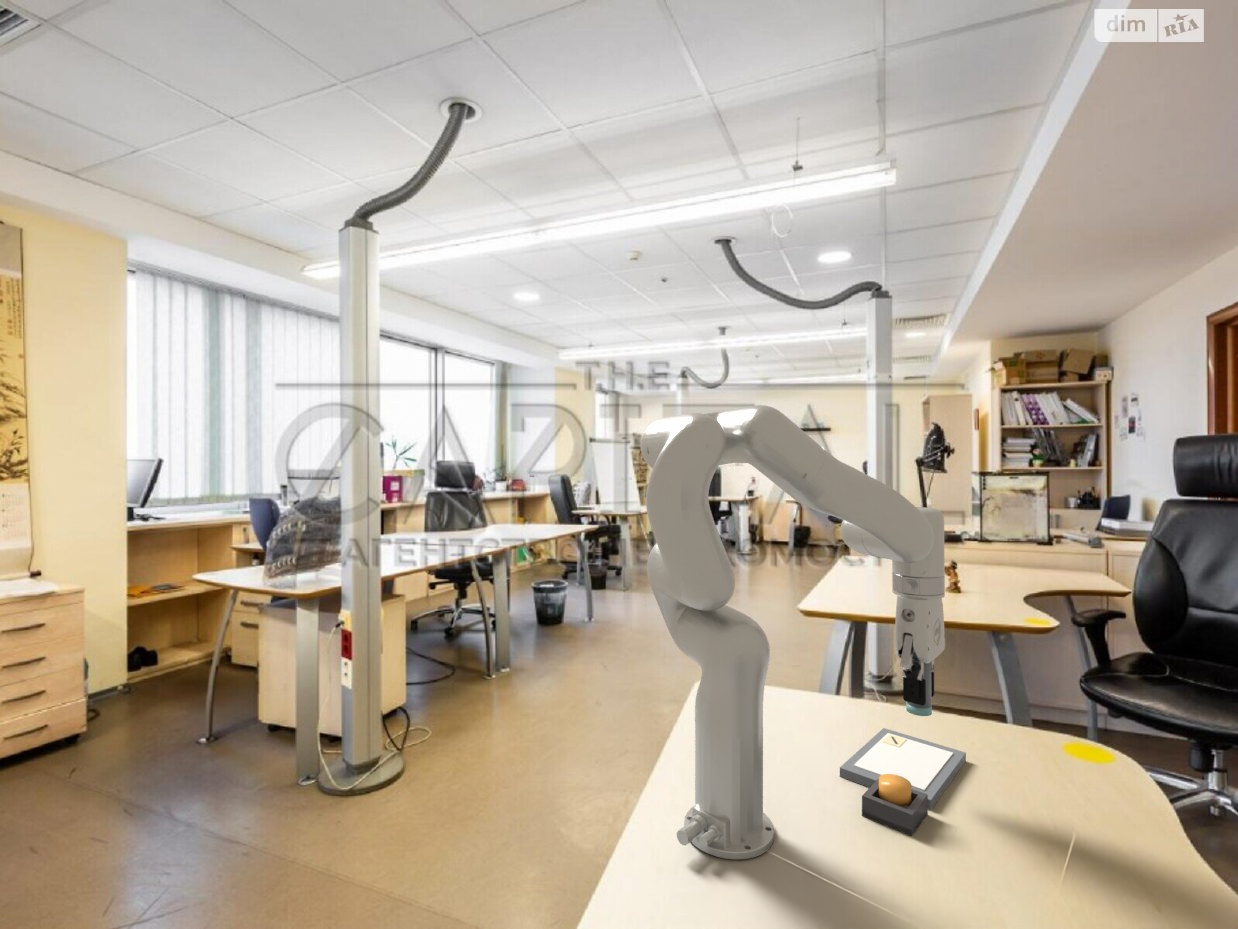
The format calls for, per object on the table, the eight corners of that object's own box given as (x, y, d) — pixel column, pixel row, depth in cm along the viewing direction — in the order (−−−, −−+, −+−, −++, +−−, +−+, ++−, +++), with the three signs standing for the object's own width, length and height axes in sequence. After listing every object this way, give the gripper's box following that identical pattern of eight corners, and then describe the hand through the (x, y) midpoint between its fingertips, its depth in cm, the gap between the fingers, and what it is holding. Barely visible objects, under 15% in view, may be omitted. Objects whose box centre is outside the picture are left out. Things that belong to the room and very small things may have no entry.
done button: (905, 810, 86) (905, 793, 86) (874, 798, 90) (874, 782, 89) (915, 797, 90) (915, 781, 90) (884, 786, 93) (885, 770, 93)
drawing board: (930, 810, 91) (930, 798, 91) (839, 776, 100) (839, 765, 100) (965, 761, 105) (965, 750, 105) (883, 735, 115) (883, 726, 115)
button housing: (911, 836, 85) (912, 815, 85) (861, 815, 89) (862, 795, 89) (927, 814, 90) (927, 794, 90) (879, 796, 95) (879, 777, 95)
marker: (928, 718, 94) (927, 648, 94) (902, 711, 97) (902, 643, 97) (935, 710, 97) (934, 642, 97) (910, 704, 100) (909, 638, 99)
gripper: (927, 598, 88) (928, 723, 88) (958, 579, 100) (959, 689, 100) (874, 590, 93) (875, 708, 93) (910, 573, 105) (911, 678, 105)
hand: (918, 697), depth 97 cm, fingers closed on marker, 3 cm apart
